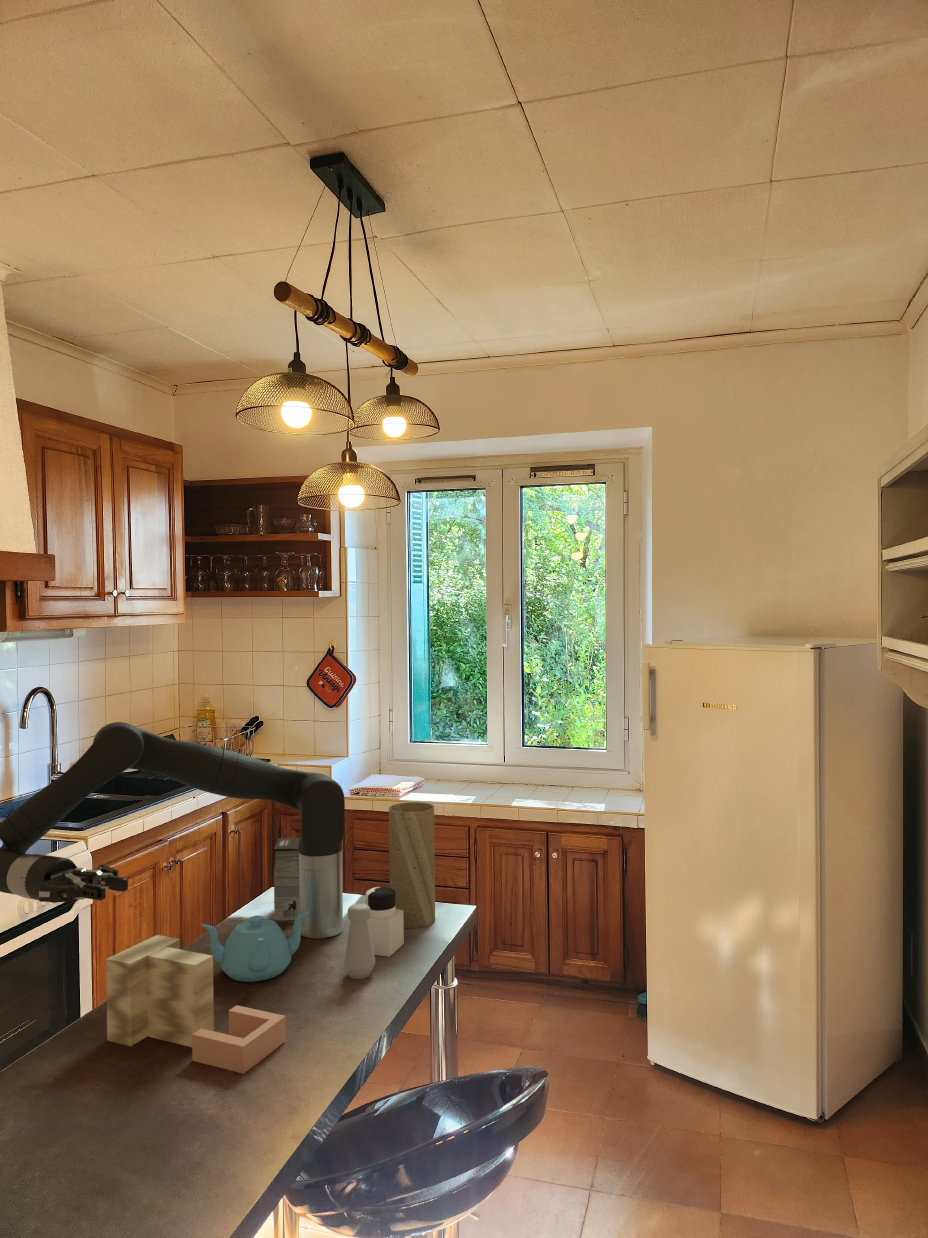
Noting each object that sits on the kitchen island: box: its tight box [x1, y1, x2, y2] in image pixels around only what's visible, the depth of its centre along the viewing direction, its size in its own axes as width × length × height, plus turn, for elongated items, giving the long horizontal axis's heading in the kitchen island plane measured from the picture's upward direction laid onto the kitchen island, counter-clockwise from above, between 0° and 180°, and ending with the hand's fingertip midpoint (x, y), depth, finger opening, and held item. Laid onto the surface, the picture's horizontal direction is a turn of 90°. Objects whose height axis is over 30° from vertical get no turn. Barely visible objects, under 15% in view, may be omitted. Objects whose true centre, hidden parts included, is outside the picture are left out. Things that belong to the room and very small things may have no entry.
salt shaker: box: [344, 903, 376, 980], centre depth 158 cm, size 6×6×13 cm
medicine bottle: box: [365, 886, 405, 958], centre depth 171 cm, size 7×7×12 cm
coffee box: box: [273, 837, 300, 921], centre depth 192 cm, size 9×6×16 cm
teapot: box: [200, 912, 309, 983], centre depth 161 cm, size 15×15×10 cm
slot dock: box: [191, 1004, 287, 1074], centre depth 131 cm, size 10×10×4 cm
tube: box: [388, 801, 436, 929], centre depth 187 cm, size 10×10×25 cm
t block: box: [105, 934, 215, 1048], centre depth 136 cm, size 15×11×13 cm
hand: (115, 889), depth 141 cm, fingers open, 4 cm apart
